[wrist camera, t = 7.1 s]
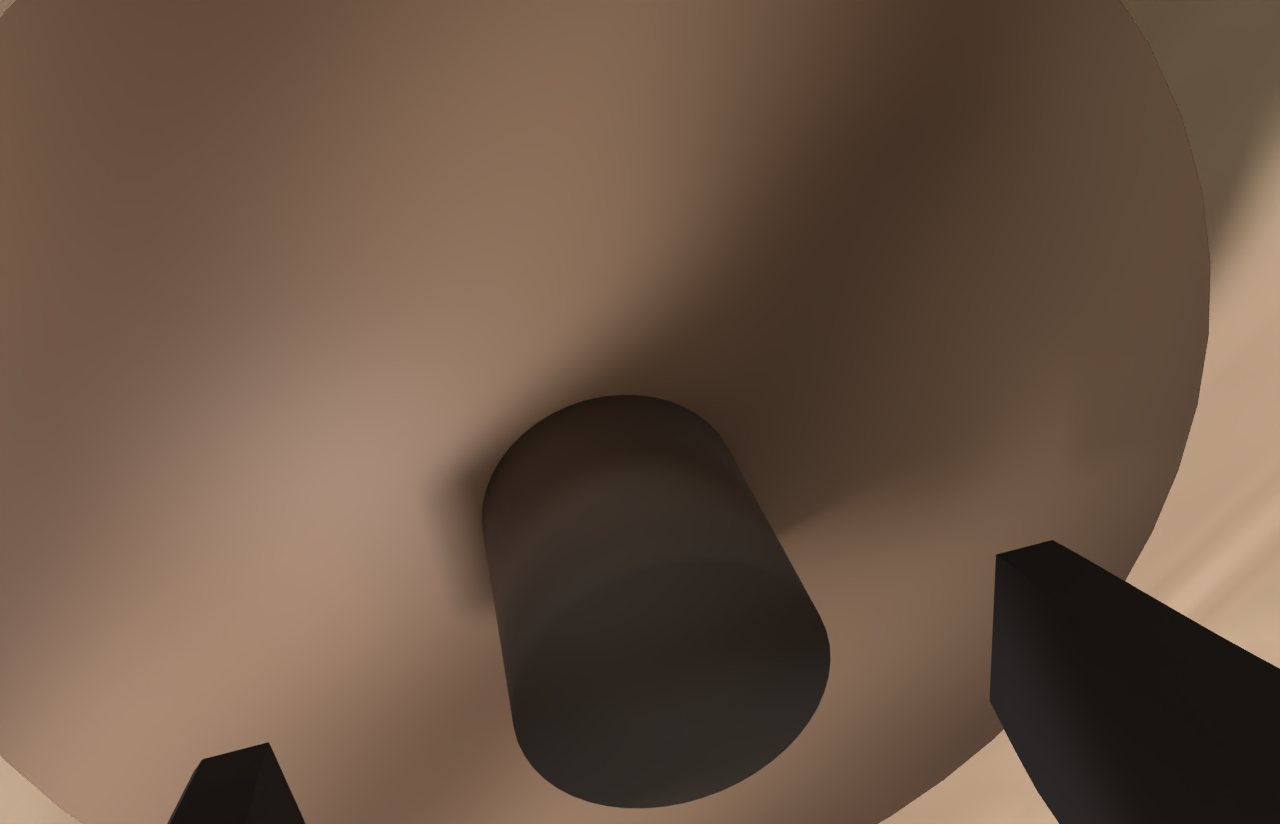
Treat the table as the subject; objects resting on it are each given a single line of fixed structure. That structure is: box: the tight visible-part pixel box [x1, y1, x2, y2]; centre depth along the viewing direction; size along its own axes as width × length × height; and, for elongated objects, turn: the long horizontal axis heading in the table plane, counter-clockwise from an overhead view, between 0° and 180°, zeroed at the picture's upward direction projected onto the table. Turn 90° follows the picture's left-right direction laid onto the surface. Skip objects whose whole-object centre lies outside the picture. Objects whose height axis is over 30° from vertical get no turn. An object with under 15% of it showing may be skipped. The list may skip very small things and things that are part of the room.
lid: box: [0, 0, 1210, 824], centre depth 12 cm, size 15×15×4 cm
